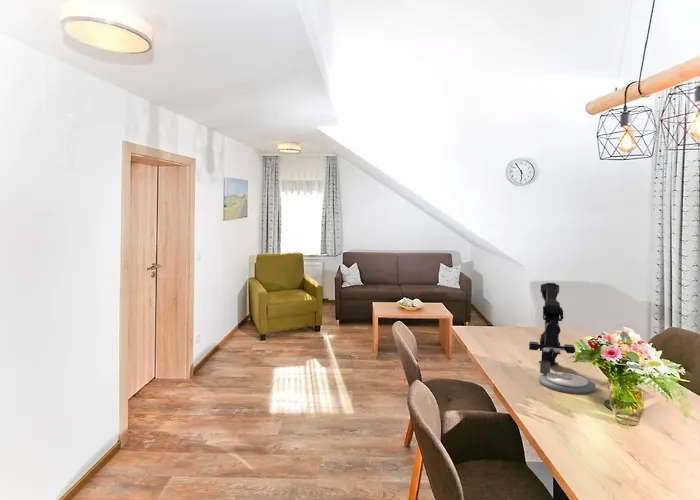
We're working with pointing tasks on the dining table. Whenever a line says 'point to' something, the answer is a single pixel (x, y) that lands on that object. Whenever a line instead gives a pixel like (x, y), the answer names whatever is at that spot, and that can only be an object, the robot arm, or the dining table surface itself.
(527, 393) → the dining table surface
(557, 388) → the dial base
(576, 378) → the dial
